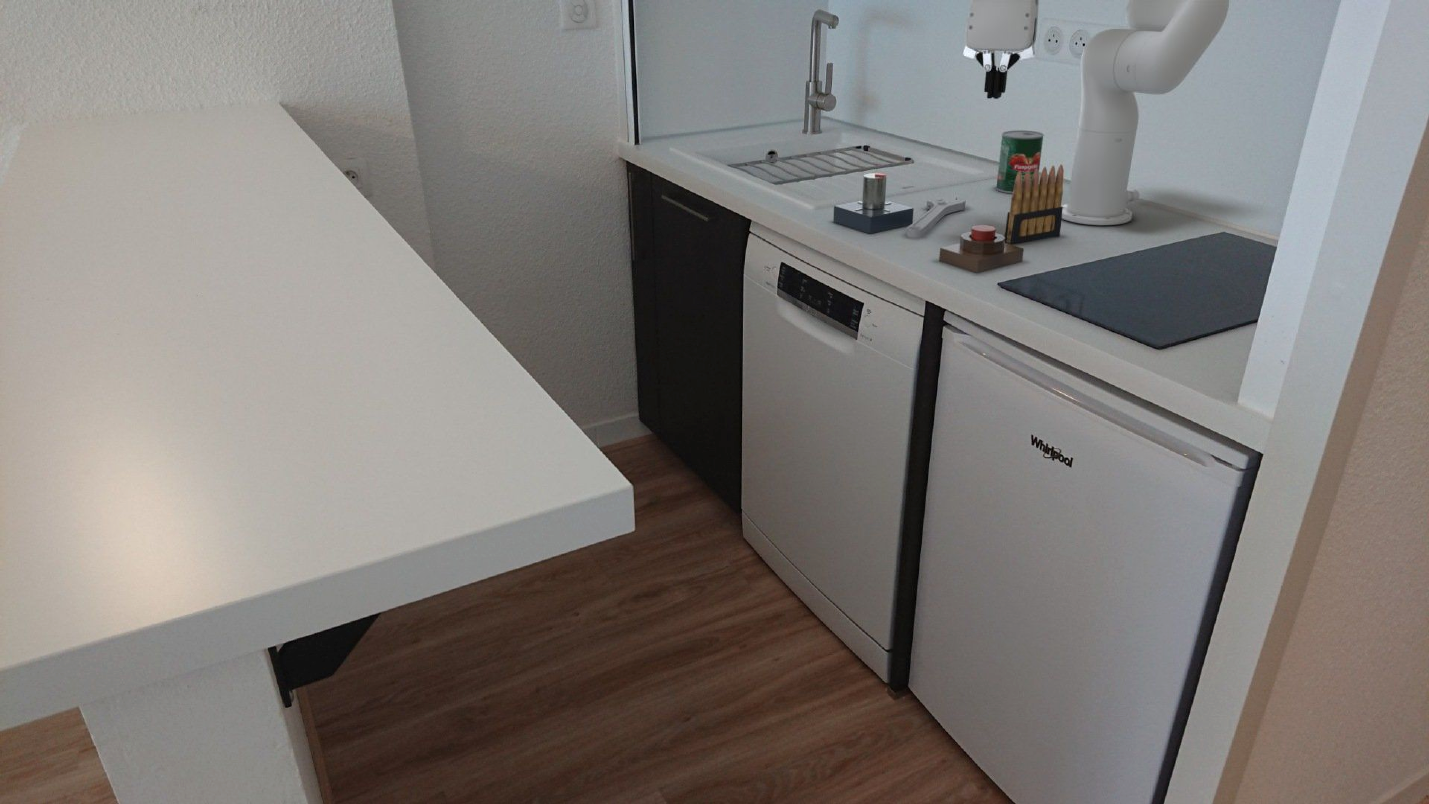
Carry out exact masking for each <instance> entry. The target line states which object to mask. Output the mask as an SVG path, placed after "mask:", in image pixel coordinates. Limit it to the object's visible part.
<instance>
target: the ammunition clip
mask: <svg viewBox="0 0 1429 804" xmlns="http://www.w3.org/2000/svg"><path fill="white" fill-rule="evenodd" d="M1030 184H1031V187H1030ZM1063 187H1064V166H1063V164H1060V165H1059V167H1058V168H1057V171H1056V168H1055V165H1052V166H1051V167H1050V169H1049V172H1048V170H1047V167H1046V166H1043V168H1042V171H1041V173H1040V170H1039V171H1038V168H1036V169H1035V171H1034V174H1033V177H1032V182H1031V175H1030V170H1029V169H1028V170H1027V172H1026V174H1025V177H1024V181H1023V187H1022V173H1021V171H1019V172H1018V174H1017V176H1016V180H1015V185H1014V190H1013V194H1012V196H1011V199H1010V207H1009V212H1007V215H1006V216H1007V217H1006V223H1005V230H1004V235H1003V236H1004V237H1005V243H1007V244H1010V245H1014V246H1015V245H1020V244H1024V243H1030V242H1035V241H1036V242H1037V241H1041V240H1047V239H1052V238H1058V237H1059V238H1060V235H1061V227H1062V220H1063V219H1062V209H1063V207H1061V206H1062V201H1063V195H1064V194H1063V193H1064V188H1063Z"/></svg>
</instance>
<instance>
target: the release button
mask: <svg viewBox="0 0 1429 804" xmlns="http://www.w3.org/2000/svg"><path fill="white" fill-rule="evenodd" d="M970 232H971V239H975V240H982V241H988V240H995V233H997V228H996V227H994V226H991V225H987V224H986V225H985V224H979V225H974V226H972V227H971V231H970Z"/></svg>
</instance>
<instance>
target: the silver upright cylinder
mask: <svg viewBox="0 0 1429 804" xmlns="http://www.w3.org/2000/svg"><path fill="white" fill-rule="evenodd" d="M887 178H888V177H887V174H884V173H879V172H877V173H876V172H875V173H873V172H872V173H871V172H870V173H865V174H863V179H862V198H861V199H862V200H861V201H862V207H863V208H866V209H882V208H884V207H885V200H886V191H887Z"/></svg>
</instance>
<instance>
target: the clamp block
mask: <svg viewBox="0 0 1429 804" xmlns="http://www.w3.org/2000/svg"><path fill="white" fill-rule="evenodd" d="M914 209H915V208H914V207H911V206H908V205H904V204H901V203H896V202H893V201H889V200H886V199H885V207H884V208H882V209H866V208H863V207H862V200H857V201H851V202H847V203H842V204H836V205H834V206H833V223H836V224H838V225H842V226H845V227H847V228H851V229H853V230H857V231H860V232H863V233H866V234H869V235H871V234H875V233H880V232H885V231H889V230H890V231H891V230H895V229H899V228H904V227H909V226H910V225H911V224H912V223H914Z"/></svg>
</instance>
